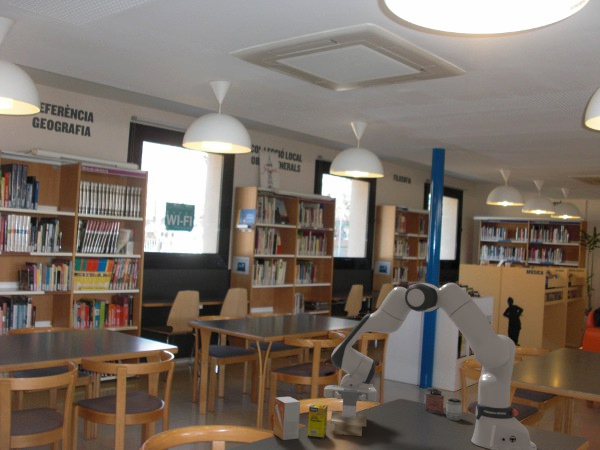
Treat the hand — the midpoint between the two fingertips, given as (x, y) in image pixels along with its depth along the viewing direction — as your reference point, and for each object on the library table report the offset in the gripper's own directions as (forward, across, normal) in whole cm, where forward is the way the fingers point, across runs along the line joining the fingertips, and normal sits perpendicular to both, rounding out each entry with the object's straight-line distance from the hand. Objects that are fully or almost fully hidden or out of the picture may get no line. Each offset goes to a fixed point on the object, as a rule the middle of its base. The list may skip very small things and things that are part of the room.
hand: (349, 397), depth 240 cm
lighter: (-42, +36, +13) cm, 57 cm away
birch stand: (-1, 0, +12) cm, 13 cm away
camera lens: (-33, +43, +13) cm, 56 cm away
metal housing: (-1, 0, +8) cm, 8 cm away
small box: (+12, -22, +13) cm, 28 cm away
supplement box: (+9, -11, +13) cm, 19 cm away
